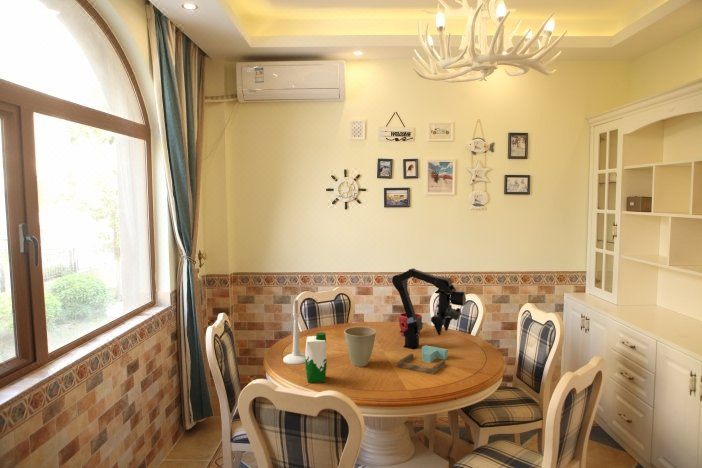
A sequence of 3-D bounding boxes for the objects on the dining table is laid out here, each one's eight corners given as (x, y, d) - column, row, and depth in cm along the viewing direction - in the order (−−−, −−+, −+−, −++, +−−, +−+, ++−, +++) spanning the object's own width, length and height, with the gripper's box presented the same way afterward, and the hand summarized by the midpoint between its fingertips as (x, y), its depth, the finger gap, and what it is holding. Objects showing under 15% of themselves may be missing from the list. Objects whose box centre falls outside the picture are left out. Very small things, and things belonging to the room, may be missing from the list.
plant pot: (339, 361, 216) (339, 328, 215) (367, 357, 222) (367, 325, 221) (351, 371, 203) (351, 337, 202) (381, 367, 208) (381, 333, 207)
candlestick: (298, 353, 227) (298, 295, 225) (314, 359, 218) (314, 298, 216) (277, 359, 218) (277, 298, 216) (293, 366, 209) (293, 303, 207)
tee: (414, 359, 219) (414, 351, 218) (425, 352, 229) (425, 345, 228) (438, 364, 212) (438, 356, 212) (447, 357, 222) (447, 349, 222)
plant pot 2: (423, 338, 253) (423, 317, 252) (399, 338, 253) (400, 317, 252) (419, 331, 266) (420, 311, 265) (397, 331, 266) (397, 311, 265)
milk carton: (326, 383, 190) (326, 336, 189) (305, 383, 189) (305, 337, 188) (326, 375, 199) (326, 330, 197) (305, 375, 198) (305, 331, 197)
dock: (396, 366, 209) (397, 362, 209) (410, 357, 221) (410, 353, 221) (433, 374, 200) (433, 370, 199) (445, 364, 212) (445, 360, 211)
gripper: (452, 308, 215) (451, 340, 217) (466, 301, 231) (464, 331, 232) (431, 305, 221) (429, 336, 223) (445, 298, 237) (444, 327, 238)
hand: (442, 332), depth 229 cm, fingers open, 9 cm apart
